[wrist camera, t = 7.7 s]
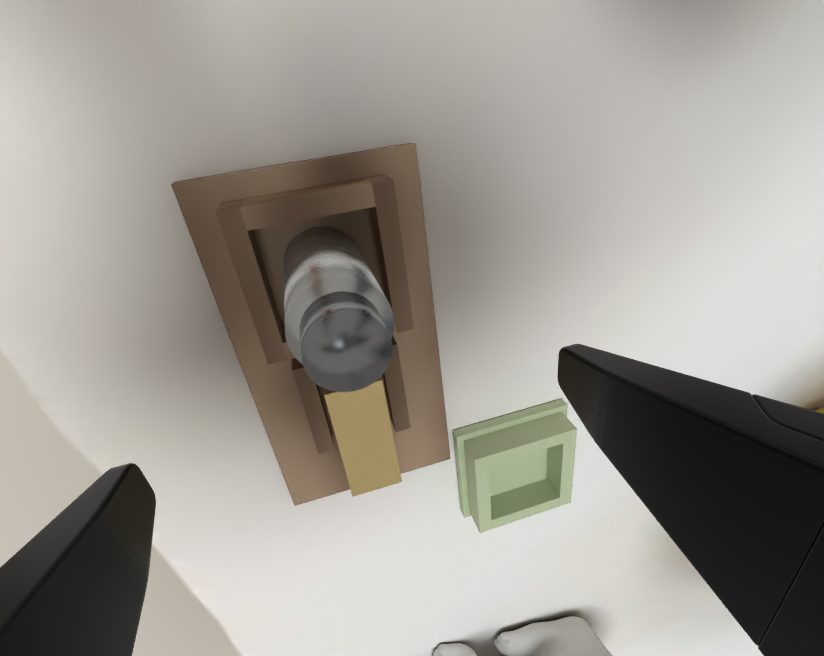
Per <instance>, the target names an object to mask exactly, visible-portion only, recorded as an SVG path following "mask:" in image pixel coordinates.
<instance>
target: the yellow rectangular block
mask: <svg viewBox="0 0 824 656" xmlns="http://www.w3.org/2000/svg"><path fill="white" fill-rule="evenodd" d="M323 391H324V397H325V400H326V404H327V407H328V411H329V415H330V418H331V422H332V425H333V429H334V432H335V436H336V439H337V443H338V447H339V450H340V454H341V457H342V461H343V464H344V468H345V471H346V475H347V479H348V482H349V486H350V489H351V493H352V496H356V495H359V494H363V493H366V492H369V491H373V490H376V489H379V488H382V487H386V486H389V485H392V484H395V483H399V482H402V480H401V474H400V469H399V464H398V459H397V454H396V449H395V443H394V438H393V433H392V428H391V423H390V418H389V412H388V407H387V402H386V397H385V392H384V387H383V381H382V378H381V377H380V378H379V379H378V380H377V381H375V382H374V383H372V384H371V385H369V386H367V387H365V388H363V389H360V390H357V391H352V392H335V391H330V390H327V389H324V388H323Z"/></svg>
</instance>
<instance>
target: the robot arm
mask: <svg viewBox="0 0 824 656" xmlns="http://www.w3.org/2000/svg"><path fill="white" fill-rule="evenodd" d="M558 382H559V385H560V388H561V389H562V391H563V392H564V394H565V396H566V397H567V399H568V400H569V402H570V404H571V405H572V407H573V408H574V410H575V411H576V413H577V415H578V416H579V418H580V419H581V421H582V423H583V424H584V426H585V427H586V429H587V430H588V432H589V434H590V435H591V436H592V438H593V439H594V441H595V442H596V444H597V445H598V446H599V448H600V449H601V450H602V451H603V453H604V454H605V455H606V456H607V458H608V459H609V460H610V461H611V463H612V464H613V465H614V467H615V468H616V469H617V470H618V472H619V473H620V474H621V475H622V477H623V478H624V479H625V480H626V482H627V483H628V484H629V485H630V487H631V488H632V489H633V490H634V492H635V493H636V494H637V496H638V497H639V498H640V499H641V501H642V502H643V503H644V504H645V506H646V507H647V508H648V509H649V511H650V512H651V513H652V514H653V516H654V517H655V518H656V519H657V521H658V522H659V523H660V525H661V526H662V527H663V528H664V530H665V531H666V532H667V533H668V535H669V536H670V537H671V538H672V540H673V541H674V542H675V543H676V545H677V546H678V547H679V549H680V550H681V551H682V552H683V554H684V555H685V556H686V557H687V559H688V560H689V561H690V562H691V564H692V565H693V566H694V567H695V569H696V570H697V571H698V572H699V574H700V575H701V576H702V578H703V579H704V580H705V581H706V583H707V584H708V585H709V586H710V588H711V589H712V590H713V591H714V593H715V594H716V595H717V596H718V598H719V599H720V600H721V601H722V603H723V604H724V605H725V607H726V608H727V609H728V610H729V612H730V613H731V614H732V615H733V617H734V618H735V619H736V620H737V622H738V623H739V624H740V625H741V627H742V628H743V629H744V630H745V632H746V633H747V634H748V636H749V637H750V638H751V639H752V641H753V642H754V643H755V644H756V645H759V646H758V648H759V650H760V651H761V652H762V654H763V655H764V656H824V413H821V412H817V411H813V410H809V409H805V408H802V407H798V406H794V405H791V404H787V403H783V402H780V401H776V400H773V399H769V398H766V397H762V396H759V395H755V394H754V395H751V394H750V393H748V392H745V391H741V390H738V389H734V388H731V387H727V386H724V385H720V384H717V383H713V382H710V381H706V380H703V379H699V378H696V377H693V376H689V375H686V374H682V373H679V372H675V371H672V370H668V369H665V368H661V367H658V366H654V365H651V364H647V363H644V362H640V361H637V360H633V359H630V358H626V357H623V356H619V355H616V354H612V353H609V352H606V351H602V350H599V349H595V348H592V347H588V346H585V345H581V344H574V345H570V346H566V347H563V348H562V349H561V350H560V352H559V360H558ZM155 506H156V498H155V494H154V491H153V489H152V488H151V486H150V484H149V483H148V481H147V480H146V478H145V476H144V475H143V473H142V472H141V470H140V468H139V467H138V466H137V465H136V464H133V463H129V464H125V465H122V466H118V467H114V468H111V469H109V470H108V471H106V472H105V473H104V474H103V475H102V476H101V477H100V478H99V479H98V480H96V481H95V482H94V483H93V484H92V485H91V486H90V487H89V488H88V489H87V490H85V491H84V492H83V494H81V495H80V496H79V497H78V498H77V499H76V500H74V501H73V502H72V503H71V504H70V505H69V506H68V507H67V508H66V509H64V510H63V511H62V512H61V513H60V514H59V515H58V516H57V517H56V518H55V519H53V520H52V521H51V522H50V523H49V524H48V525H47V526H46V527H45V528H44V529H42V530H41V531H40V532H39V533H38V534H37V535H36V536H35V537H34V538H33V539H31V540H30V541H29V542H28V543H27V544H26V545H25V546H24V547H23V548H21V550H20V551H18V552H17V553H16V554H15V555H14V556H13V557H12V558H10V559H9V560H8V561H7V562H6V563H5V564H4V565H3V566H2V567H0V656H132V652H133V648H134V643H135V638H136V634H137V629H138V625H139V620H140V615H141V611H142V606H143V602H144V597H145V592H146V587H147V582H148V574H149V566H150V557H151V546H152V536H153V526H154V516H155Z"/></svg>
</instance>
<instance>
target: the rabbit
mask: <svg viewBox="0 0 824 656" xmlns="http://www.w3.org/2000/svg"><path fill="white" fill-rule="evenodd" d="M494 643H495V646H496V647H497V649H498V651H499V652H500V653H502V654H503V655H507V656H613V655H612V654H611V653H610V652H609V651H608V650H607V649H606V647H605V646H604V645H603V643H602V642H601V641H600V639H599V638H598V636H597V635H596V633H595V632H594V630H593V629H592V627H591V626H590V625H589V624H588V623H587V622H586V621H585V620H584V619H582V618H579V617H575V616H570V617H564V618H561V619H558V620H554V621H548V622H537V623H532V624H529V625H526V626H524V627H522V628H520V629H517V630H514V631H509V632H503V633H501V634H500V635H499V636H498V637H497V638H496V639H495V642H494ZM433 656H477V655H476V653H475V652H474V650H473V649H472V648H470V647H469V646H467V645H465V644H461V643H453V644H440V645H439V646H438V648H437V649H435V651H434V654H433Z"/></svg>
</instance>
